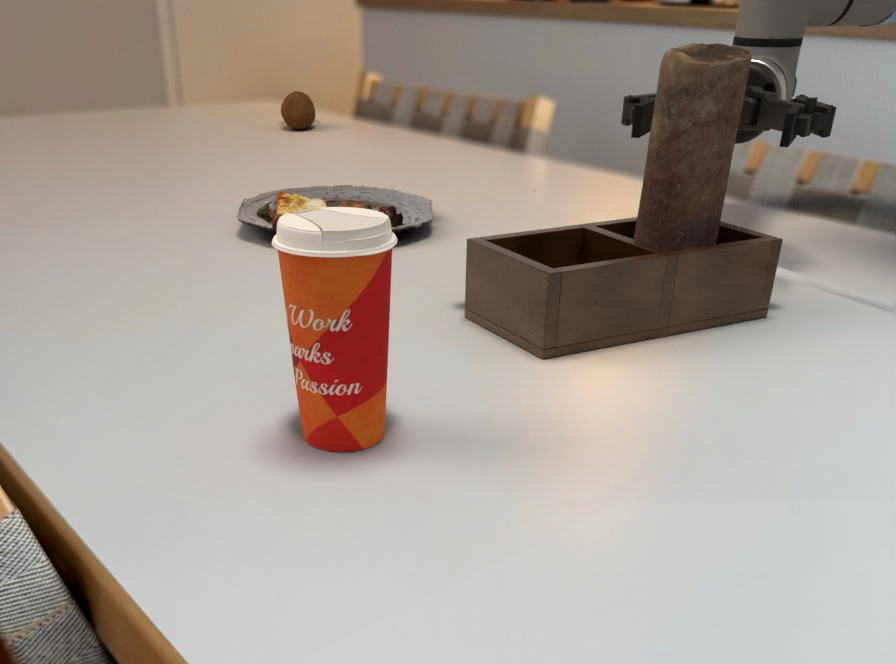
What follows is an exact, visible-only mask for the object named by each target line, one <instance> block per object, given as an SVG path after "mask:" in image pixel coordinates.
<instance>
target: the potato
mask: <svg viewBox="0 0 896 664" xmlns="http://www.w3.org/2000/svg"><path fill="white" fill-rule="evenodd" d="M280 115H281V117H282V119H283V121H284V123H285V124H286V125H287V127H288V128H290V129H293V130H303V129H306V128H309V127H310V126H312V125H313V124H314V122H315V119H316V108H315V104H314V102H313V100H312V99H311V98H310V96H309V95H308V94H306V93H305V92H303V91H299V90H298V91H297V90H295V91H292V92H290V93H289V94H288V95H286V97H284V99H283V100H282V103H281V107H280Z"/></svg>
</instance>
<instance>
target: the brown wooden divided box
mask: <svg viewBox="0 0 896 664" xmlns="http://www.w3.org/2000/svg"><path fill="white" fill-rule="evenodd" d="M636 222H637V216H635V217H627V218H620V219H618V218H617V219H612V220H603V221H595V222H587V223H581V224H580V223H579V224H573V225H565V226H556V227H549V228H540V229H533V230H526V231H525V230H523V231H517V232H509V233H502V234H493V235H487V236H486V235H485V236H480V237H477V236H476V237H471V238H470V237H469V238H467V239H466V253H465V254H466V255H465V256H466V257H465V258H466V259H465V260H466V261H465V286H464V287H465V289H464V318H466V319H468V320H469V321H472V322H473V323H475V324H477V325H478V326H481V327H483V329H484V328H485V329H486V330H488V331H490V332H492V333H493V334H496V335H497V336H499V337H501V338H503V339H504V340H507V341H508V342H510V343H512V344H514V345H516V346H518V347H519V348H522V349H523V350H525V351H527V352H529V353H530V354H532V355H534V356H536V357H538V358H540V359H541V360H545V359H550V358H551V359H552V358H556V357H562V356H567V355H571V354H577V353H583V352H587V351H593V350H598V349H604V348H609V347H615V346H619V345H625V344H630V343H635V342H641V341H646V340H651V339H657V338H663V337H667V336H673V335H678V334H684V333H689V332H695V331H699V330H705V329H710V328H715V327H720V326H721V327H722V326H725V325H726V326H727V325H731V324H737V323H742V322H747V321H752V320H757V319H762V318H767V317H768V312H769V308H770V303H771V298H772V293H773V288H774V284H775V279H776V274H777V270H778V266H779V260H780V255H781V251H782V245H783V241H784V239H783V238H781V237H777V236H774V235H770V234H767V233H764V232H760V231H757V230H753V229H749V228H746V227H743V226H739V225H735V224H733V223H732V224H731V223H728V222H725V221H721V220H720V226H719V231H718V237H717V242H716V245H709V246H703V247H696V248H689V249H682V250H675V251H667V250H664V249H661V248H658V247H655V246H652V245H649V244H646V243H643V242H640V241H637V240H634V234H635V228H636Z"/></svg>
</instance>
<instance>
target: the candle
mask: <svg viewBox="0 0 896 664" xmlns="http://www.w3.org/2000/svg"><path fill="white" fill-rule="evenodd" d="M751 58H752V57H751V54H750V52H749V51H748V50H746V49H745V48H742V47H735V46H732V45H730V44H724V43H720V42H716V43H704V42H701V43H696V42H695V43H691V42H690V43H688V44H683V45H682V44H681V45H680V46H677V47H672V48H669V49H667V50H666V51H665V52H664V53H663V56H662V59H661V62H660V66H659V72H658V79H657V86H656V92H655V93H656V99H655V106H654V113H653V119H652V125H651V131H650V132H649V138H648V143H647V151H646V152H647V153H646V160H645V167H644V172H643V179H642V185H641V191H640V198H639V204H638V209H637V210H638V211H637V216H636V217H637V222H636V228H635V234H634V240H637V241H640V242H643V243H646V244H649V245H652V246H655V247H658V248H661V249H664V250H667V251H675V250H682V249H689V248H696V247H703V246H709V245H716V242H717V237H718V231H719V226H720V221H721V219H722V214H723V209H724V204H725V199H726V195H727V194H726V193H727V188H728V182H729V176H730V171H731V166H732V160H733V154H734V151H735V150H734V149H735V146H736V144H735V140H736V134H737V130H738V126H739V120H740V115H741V110H742V105H743V100H744V94H745V89H746V84H747V79H748V74H749V69H750V64H751Z"/></svg>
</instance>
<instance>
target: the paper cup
mask: <svg viewBox="0 0 896 664" xmlns="http://www.w3.org/2000/svg"><path fill="white" fill-rule="evenodd" d="M275 233H276V234H275V235H273V238H272V240H271V246H272V247H273V248H274V249H275V250H277V255H278V263H279V270H280V279H281V283H282V284H281V285H282V292H283V299H284V301H283V302H284V309H285V316H286V323H287V330H288V339H289V347H290V353H291V360H292V368H293V375H294V383H295V390H296V396H297V404H298V412H299V417H300V425H301V430H302V435H303V439H304V441H305V442H306V444H308V445H309V446H311V447H312V448H315V449H318V450H321V451H326V452H332V453H333V452H336V453H346V452H347V453H348V452H356V451H357V452H358V451H362V450H366V449H369V448H372V447H374V446H376V445H377V444H380V443H381V441H382V440H383V438H384V435H385V428H386V427H385V425H386V411H387V392H388V391H387V390H388V388H387V387H388V370H389V369H388V365H389V363H388V362H389V346H390V345H389V344H390V343H389V342H390V341H389V340H390V320H391V319H390V315H391V291H392V290H391V289H392V288H391V287H392V266H393V265H392V264H393V248H394V247H395V246H396V245H398V237H397V236H396V234H395V232H392V228H391V222H390V219H389V217H388V216H387V215H386V214H384V213H382V212H379V211H375V210H370V209H364V208H354V207H321V208H317V210H316V211H313V209H308V210H302V211H297V212H295V215H294V214H291V213H287V214H284V215H282V216H281V217H280V218H279V220H278V222H277V232H275Z"/></svg>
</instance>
